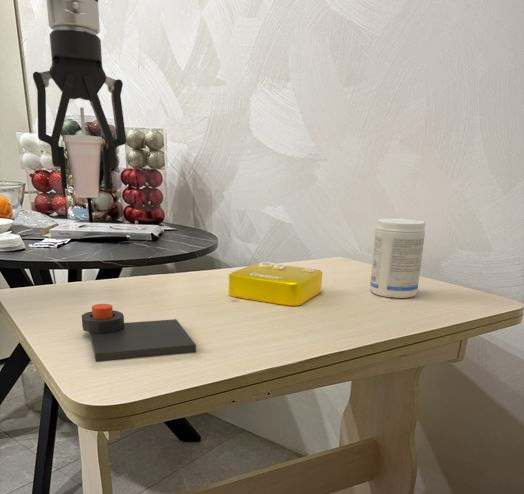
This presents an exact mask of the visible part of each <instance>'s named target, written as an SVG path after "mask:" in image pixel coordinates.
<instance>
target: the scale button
mask: <svg viewBox="0 0 524 494" xmlns="http://www.w3.org/2000/svg"><path fill="white" fill-rule="evenodd" d="M113 310H114V309H113V305H112V304H110V303H95V304H92V306H91V311H92V316H93V318H94V319H107V318H112V317H113Z"/></svg>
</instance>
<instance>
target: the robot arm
mask: <svg viewBox="0 0 524 494" xmlns="http://www.w3.org/2000/svg"><path fill="white" fill-rule="evenodd" d="M46 8H47V9H46V10H47V21H48V27H49V28H50V29H51V32H50V33H49V42H50V43H49V44H50V54H51V55H50V56H51V65H50V68H49V70H45V71H41V72H39V71H34V72H33V73H32V80H33V82H34V85H35V88H36V92H37V93H36V97H37V103H36V104H37V138H38V140H39V141H40V142H43V143H46V144H48V145H49V146H50V152H51V164H52V166H53V167H55V168H59V171H60V182H61V183H60V184H61V189H63V190H64V189H66V190H67V189H68V181H67V179H68V178H67V169H66V158H65V157H66V155H65V146H60V139H61V137H62V136H61V135H62V132H63V127H64V124H65V119H66V115H67V111H68V107H69V103H70V100H78V99H81V100H82V101H83V100H84V101H89V104H90V106H91V108H92V110H93V113H94V116H95V119H96V120H97V124H98V127H99V130H100V131H101V134H102V136H103V137H102V138H103V140H104V142H105V145H106V148H102V147H101V153H102V165H103V167H102V168H103V182H104V190H105V189H106V190H112V183H111V182H112V179H111V169H113V170H115V169H117V154H116V153H117V152H116V150H117V148H118V147H121V146H123V145H126V143H127V136H126V128H125V121H124V119H125V118H124V112H123V111H124V110H123V104H122V97H121V95H122V91H123V85H124V83H123V81H122V80H121V79H120V78H118V79H115V78H112V77H110V76H107V75H106V73H105V70H104V68H103V58H102V57H103V56H102V55H103V54H102V40H101V39H100V37H99V34H100V33H101V26H100V11H99V0H46ZM51 79H52V80H53V82H54V83H55V85H56V86H57V87H58V89H59V90H60V91H61V95H60V100H59V104H58V108H57V112H56V116H55V119H54V125H53V128H52V131H51V135H49V134H47V92H46V91H47V89H46V88H49V86H50V80H51ZM104 85H106V87H107V91H108V93H110V94H111V95H110V98H111V106H112V115H113V121H114V122H113V123H114V130H115V136H116V138H114V135H113V133H112V131H111V128H110V125H109V122H108V120H107V118H106V114H105V111H104V108H103V107H102V103H101V100H100V96H99V95H98V94H99V93H100V90H101V89H102V87H103V86H104Z"/></svg>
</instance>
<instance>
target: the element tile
mask: <svg viewBox="0 0 524 494" xmlns="http://www.w3.org/2000/svg"><path fill="white" fill-rule="evenodd" d="M322 283H323V271H322V270H321V269H316V268H310V267H309V268H308V267H300V266H294V265H293V266H292V265H286V264H276V263H275V262H269V261H263V262H256V263H253V264H251V265H247V266H245V267H243V268H239V269H237V270H234V271H232V272H230V273H229V274H228V295H229V296H230V297H232V298H236V299H243V300H250V301H255V302H256V301H257V302H261V303H269V304H276V305H281V306H287V307H288V306H290V307H297V306H301V305H303V304H305V303H306V302H308V301H309V300H311V299H312V298H314V297H315V296H317V295H319V294H320V293H321V291H322Z"/></svg>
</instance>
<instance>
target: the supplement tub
mask: <svg viewBox="0 0 524 494" xmlns="http://www.w3.org/2000/svg"><path fill="white" fill-rule="evenodd" d="M425 228H426V221H423V220H420V219H419V220H418V219H410V218H379V219H377V220H376V226H375V232H374V241H373V242H374V243H373V253H372V264H371V273H370V275H371V276H370V286H369V289H370V291H371V293H373V294H374V295H377V296H380V297H384V298H394V299H408V298H412V297H414V296H416V295H417V293H418V289H419V281H420V273H421V268H422V259H423V251H424V244H425V235H426V229H425Z"/></svg>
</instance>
